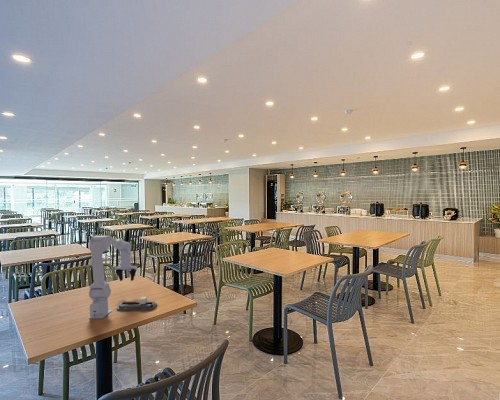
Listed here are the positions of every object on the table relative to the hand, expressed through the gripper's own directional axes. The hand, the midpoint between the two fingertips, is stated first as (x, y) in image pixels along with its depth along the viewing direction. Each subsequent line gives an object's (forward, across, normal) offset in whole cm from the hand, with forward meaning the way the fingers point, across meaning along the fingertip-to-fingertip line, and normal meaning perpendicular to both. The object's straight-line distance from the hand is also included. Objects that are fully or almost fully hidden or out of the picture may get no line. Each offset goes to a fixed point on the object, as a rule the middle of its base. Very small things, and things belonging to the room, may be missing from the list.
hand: (126, 280), depth 186 cm
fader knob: (+8, -21, +20) cm, 30 cm away
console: (+10, -17, +20) cm, 28 cm away
